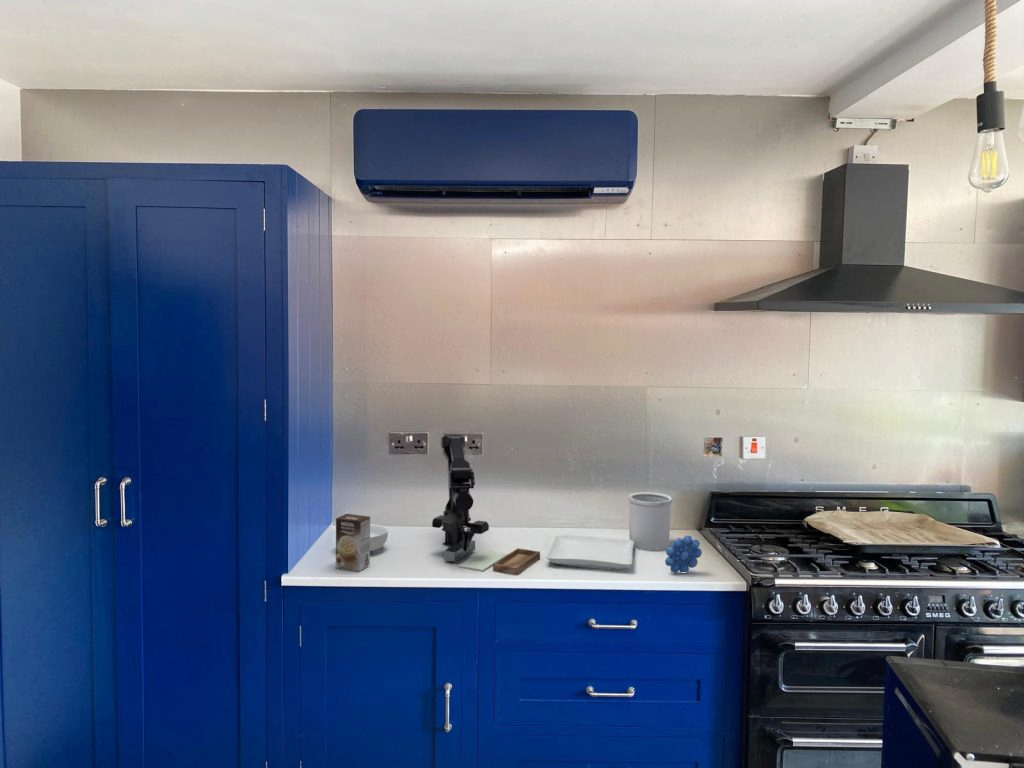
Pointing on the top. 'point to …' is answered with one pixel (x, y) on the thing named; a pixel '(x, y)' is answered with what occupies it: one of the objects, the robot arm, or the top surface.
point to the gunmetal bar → (458, 551)
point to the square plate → (591, 552)
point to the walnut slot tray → (516, 561)
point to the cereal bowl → (377, 536)
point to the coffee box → (352, 542)
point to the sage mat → (482, 560)
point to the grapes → (683, 554)
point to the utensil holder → (649, 520)
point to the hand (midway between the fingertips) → (460, 549)
